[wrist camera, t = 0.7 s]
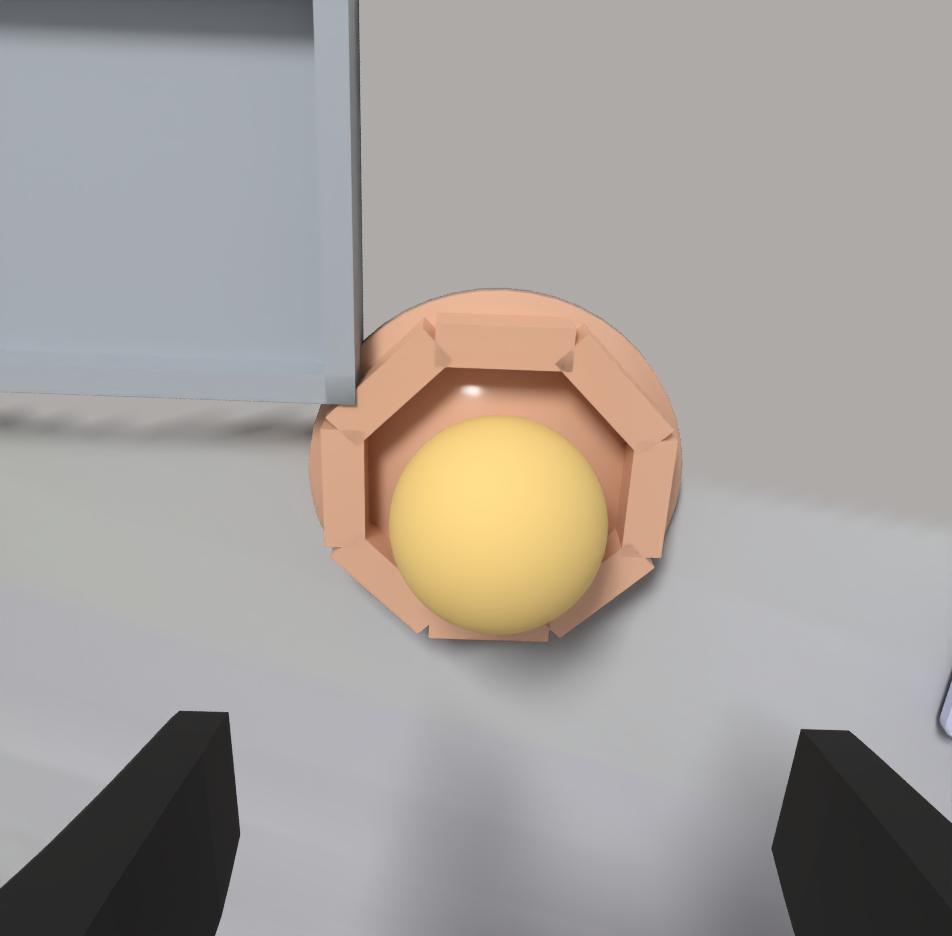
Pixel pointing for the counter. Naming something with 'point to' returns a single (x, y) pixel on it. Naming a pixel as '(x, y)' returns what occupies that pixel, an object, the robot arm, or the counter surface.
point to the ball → (498, 524)
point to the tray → (181, 199)
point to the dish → (497, 393)
